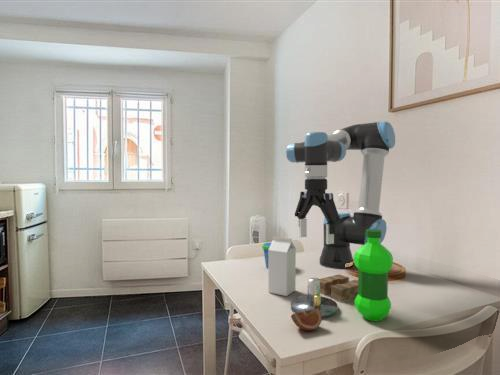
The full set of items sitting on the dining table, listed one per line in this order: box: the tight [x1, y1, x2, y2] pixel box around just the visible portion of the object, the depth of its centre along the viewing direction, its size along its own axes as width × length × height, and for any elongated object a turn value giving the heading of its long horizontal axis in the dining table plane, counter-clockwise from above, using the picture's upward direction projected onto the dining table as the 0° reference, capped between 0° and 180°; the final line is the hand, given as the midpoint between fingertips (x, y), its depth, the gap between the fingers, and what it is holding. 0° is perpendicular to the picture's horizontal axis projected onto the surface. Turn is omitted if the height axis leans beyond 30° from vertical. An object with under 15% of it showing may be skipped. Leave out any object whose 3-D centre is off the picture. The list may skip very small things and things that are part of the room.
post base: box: [290, 277, 338, 319], centre depth 102 cm, size 14×14×9 cm
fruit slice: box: [290, 308, 323, 332], centre depth 89 cm, size 8×7×5 cm
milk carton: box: [267, 236, 297, 297], centre depth 117 cm, size 7×7×19 cm
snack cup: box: [261, 241, 272, 268], centre depth 147 cm, size 16×10×10 cm
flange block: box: [319, 273, 358, 303], centre depth 115 cm, size 12×12×4 cm
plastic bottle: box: [353, 229, 394, 322], centre depth 95 cm, size 10×10×25 cm
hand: (315, 240), depth 115 cm, fingers open, 13 cm apart
